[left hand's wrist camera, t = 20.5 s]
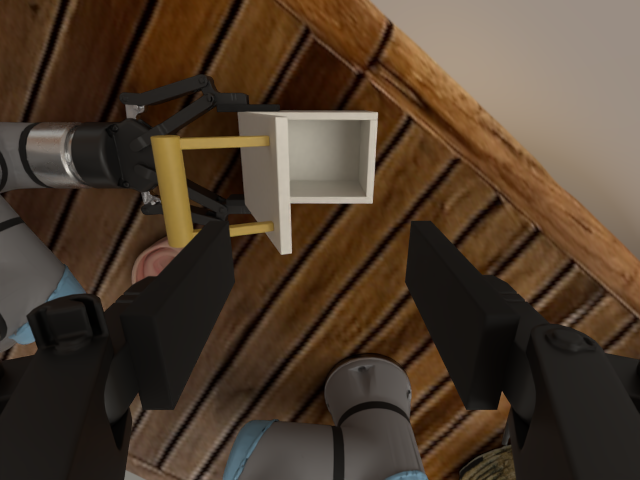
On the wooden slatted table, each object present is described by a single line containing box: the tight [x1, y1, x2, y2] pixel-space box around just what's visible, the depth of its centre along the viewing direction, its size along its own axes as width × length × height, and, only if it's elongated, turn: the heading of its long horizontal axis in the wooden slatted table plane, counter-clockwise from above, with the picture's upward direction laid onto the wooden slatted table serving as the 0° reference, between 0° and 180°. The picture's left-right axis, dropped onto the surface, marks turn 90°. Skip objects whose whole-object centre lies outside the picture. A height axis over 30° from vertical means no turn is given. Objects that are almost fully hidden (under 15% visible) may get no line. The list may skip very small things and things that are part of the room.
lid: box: [151, 112, 292, 255], centre depth 30 cm, size 15×10×9 cm
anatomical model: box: [132, 236, 184, 285], centre depth 51 cm, size 13×4×12 cm
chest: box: [249, 110, 378, 203], centre depth 42 cm, size 14×10×10 cm
